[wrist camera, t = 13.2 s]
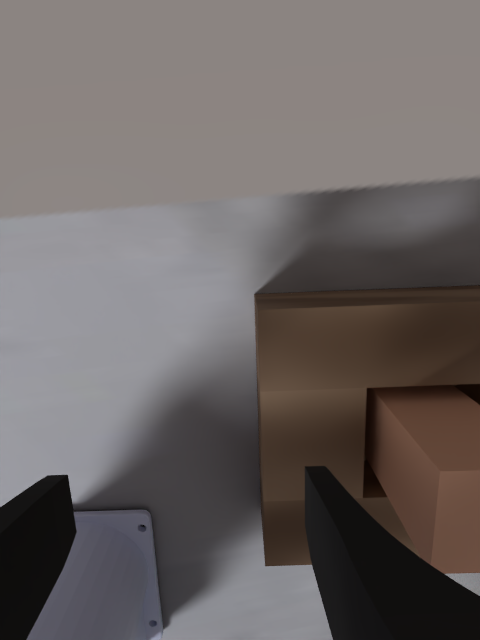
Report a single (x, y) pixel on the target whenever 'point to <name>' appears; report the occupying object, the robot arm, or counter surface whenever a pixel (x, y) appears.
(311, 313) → the socket block
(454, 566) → the peg
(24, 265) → the counter surface
